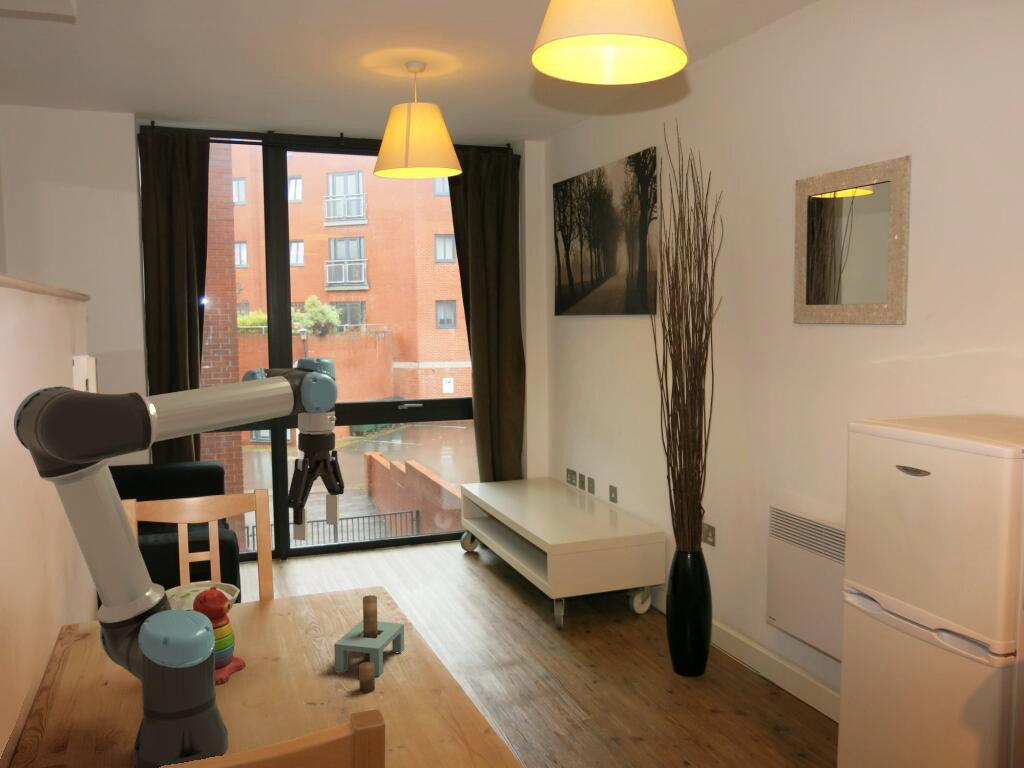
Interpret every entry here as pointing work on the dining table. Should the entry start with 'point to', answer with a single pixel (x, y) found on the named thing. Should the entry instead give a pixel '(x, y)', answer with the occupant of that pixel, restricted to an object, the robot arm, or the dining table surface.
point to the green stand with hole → (369, 644)
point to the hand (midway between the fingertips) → (316, 531)
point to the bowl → (187, 593)
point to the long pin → (369, 620)
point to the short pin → (367, 677)
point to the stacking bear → (220, 632)
